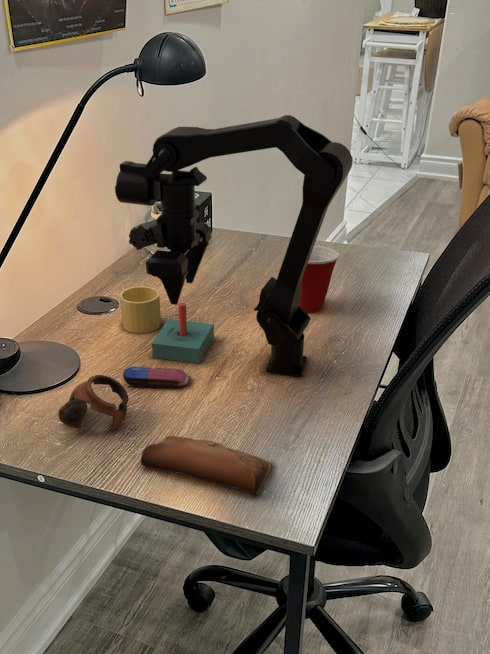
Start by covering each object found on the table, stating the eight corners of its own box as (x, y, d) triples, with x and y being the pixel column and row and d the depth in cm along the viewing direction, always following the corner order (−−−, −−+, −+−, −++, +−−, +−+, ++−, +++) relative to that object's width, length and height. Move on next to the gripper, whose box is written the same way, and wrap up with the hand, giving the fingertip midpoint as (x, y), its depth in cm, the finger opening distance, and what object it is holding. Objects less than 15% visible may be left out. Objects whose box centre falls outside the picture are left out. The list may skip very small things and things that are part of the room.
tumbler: (153, 335, 140) (151, 304, 136) (117, 330, 142) (114, 300, 138) (166, 317, 146) (164, 288, 142) (131, 313, 148) (128, 284, 144)
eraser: (189, 377, 127) (189, 368, 126) (187, 389, 124) (187, 380, 123) (126, 373, 128) (126, 364, 127) (122, 385, 124) (121, 376, 123)
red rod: (186, 349, 135) (184, 306, 130) (179, 348, 135) (177, 305, 130) (188, 346, 136) (186, 302, 131) (181, 345, 136) (179, 302, 131)
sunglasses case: (275, 460, 106) (269, 442, 100) (261, 505, 103) (254, 489, 97) (164, 435, 112) (152, 416, 106) (148, 476, 109) (135, 459, 103)
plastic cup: (334, 295, 154) (338, 242, 147) (336, 318, 145) (341, 262, 138) (283, 294, 155) (285, 240, 148) (282, 317, 146) (284, 261, 139)
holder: (199, 363, 131) (198, 349, 129) (152, 357, 133) (151, 343, 131) (214, 337, 139) (213, 323, 137) (169, 332, 141) (169, 318, 139)
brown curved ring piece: (86, 399, 122) (106, 364, 118) (123, 437, 120) (145, 403, 116) (35, 418, 112) (55, 380, 108) (74, 460, 110) (96, 423, 106)
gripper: (151, 188, 130) (157, 268, 139) (112, 223, 115) (121, 311, 124) (211, 192, 128) (212, 274, 136) (178, 228, 113) (182, 318, 121)
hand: (182, 293), depth 130 cm, fingers open, 9 cm apart
